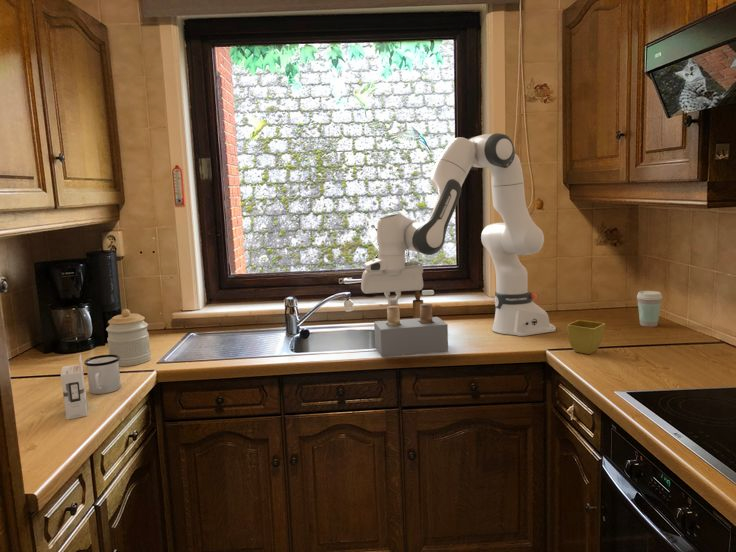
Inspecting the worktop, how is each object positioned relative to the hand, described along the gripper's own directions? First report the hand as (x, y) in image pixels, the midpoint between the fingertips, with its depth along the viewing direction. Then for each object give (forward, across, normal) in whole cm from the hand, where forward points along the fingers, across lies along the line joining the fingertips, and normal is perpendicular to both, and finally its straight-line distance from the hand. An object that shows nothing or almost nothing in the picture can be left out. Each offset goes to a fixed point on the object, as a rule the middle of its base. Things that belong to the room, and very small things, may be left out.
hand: (392, 305), depth 202 cm
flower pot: (+15, -58, +19) cm, 63 cm away
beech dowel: (+9, 0, 0) cm, 9 cm away
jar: (+16, +86, -14) cm, 89 cm away
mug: (+16, +87, +16) cm, 90 cm away
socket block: (+15, -6, 0) cm, 16 cm away
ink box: (+16, +90, +32) cm, 97 cm away
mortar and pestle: (+16, -15, -26) cm, 34 cm away
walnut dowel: (+9, -11, 0) cm, 15 cm away
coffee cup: (+15, -96, -6) cm, 97 cm away
